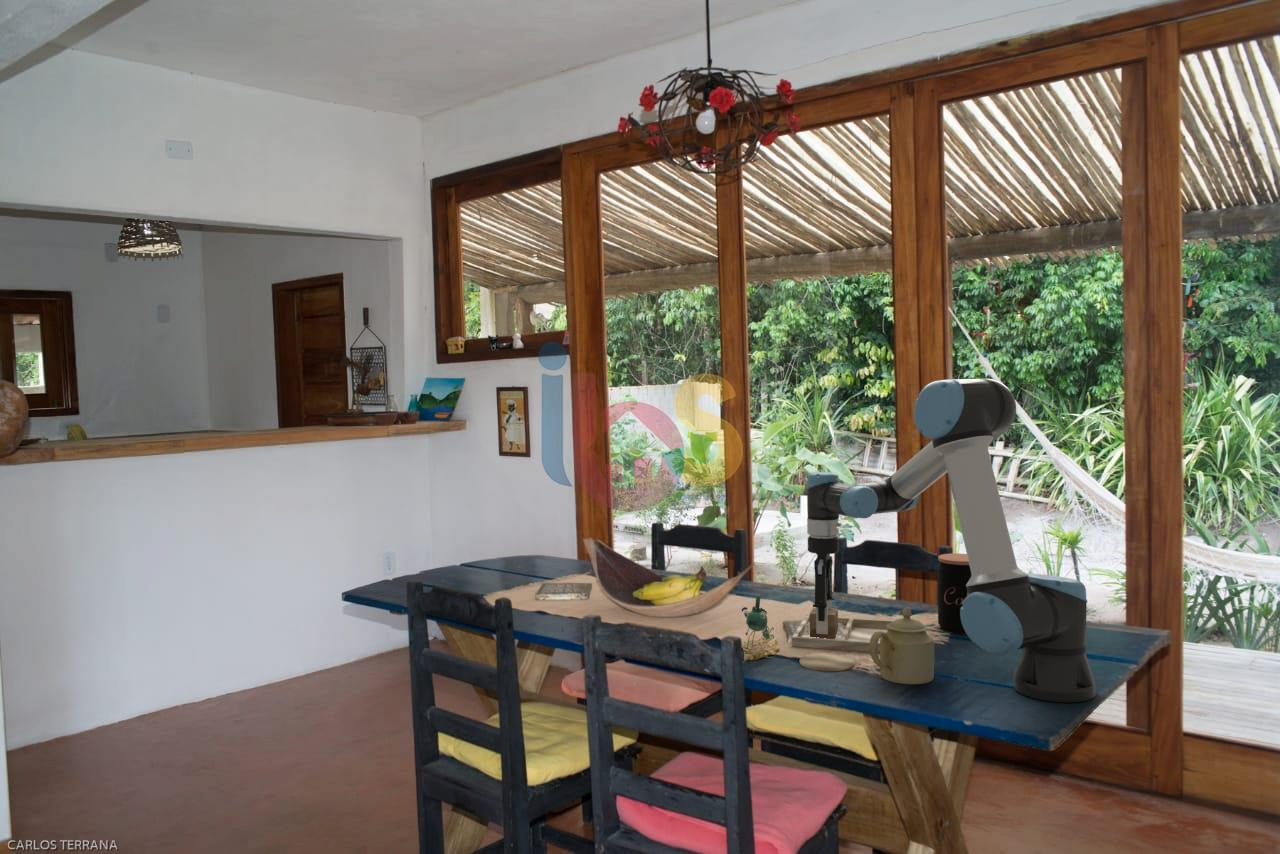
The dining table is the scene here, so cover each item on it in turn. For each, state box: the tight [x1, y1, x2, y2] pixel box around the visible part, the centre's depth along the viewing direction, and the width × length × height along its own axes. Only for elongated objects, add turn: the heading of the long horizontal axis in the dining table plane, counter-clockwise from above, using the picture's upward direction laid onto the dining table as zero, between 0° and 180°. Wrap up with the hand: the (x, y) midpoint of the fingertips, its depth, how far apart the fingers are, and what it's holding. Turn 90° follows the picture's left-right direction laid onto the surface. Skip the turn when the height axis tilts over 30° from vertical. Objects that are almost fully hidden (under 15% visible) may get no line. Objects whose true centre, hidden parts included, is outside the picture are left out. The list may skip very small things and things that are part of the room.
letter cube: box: [809, 607, 839, 639], centre depth 237 cm, size 6×6×6 cm
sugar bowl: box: [869, 606, 935, 685], centre depth 204 cm, size 15×11×15 cm
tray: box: [791, 614, 895, 653], centre depth 236 cm, size 22×23×2 cm
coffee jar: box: [937, 553, 972, 634], centre depth 243 cm, size 11×11×18 cm
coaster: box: [799, 652, 856, 672], centre depth 217 cm, size 12×12×1 cm
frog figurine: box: [741, 593, 781, 662], centre depth 226 cm, size 10×18×15 cm, turn 141°
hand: (824, 629), depth 238 cm, fingers closed on letter cube, 6 cm apart
